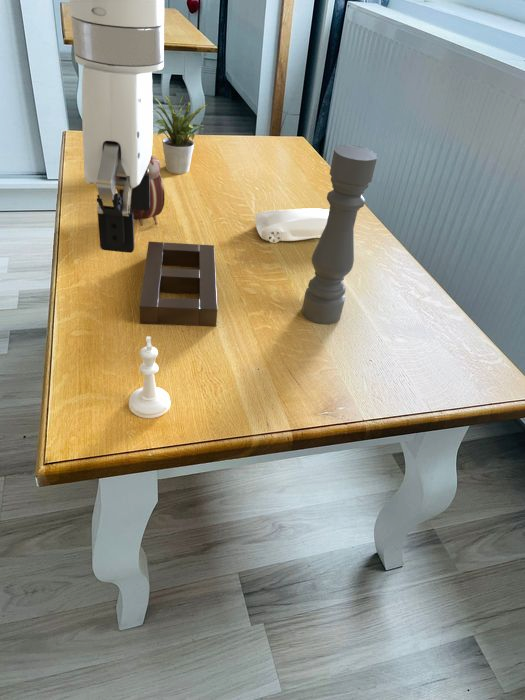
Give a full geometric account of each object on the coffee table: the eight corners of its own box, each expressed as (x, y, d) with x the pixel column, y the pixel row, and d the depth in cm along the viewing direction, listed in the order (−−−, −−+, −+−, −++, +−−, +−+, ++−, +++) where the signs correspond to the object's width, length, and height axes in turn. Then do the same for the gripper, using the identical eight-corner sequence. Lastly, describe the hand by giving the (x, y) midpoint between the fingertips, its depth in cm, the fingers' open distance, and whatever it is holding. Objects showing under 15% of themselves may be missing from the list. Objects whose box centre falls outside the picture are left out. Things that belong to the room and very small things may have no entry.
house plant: (128, 172, 122) (126, 93, 112) (156, 153, 133) (155, 80, 123) (188, 186, 120) (191, 106, 110) (211, 166, 131) (216, 92, 121)
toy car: (261, 243, 102) (263, 220, 100) (252, 224, 108) (255, 202, 106) (351, 243, 107) (356, 222, 104) (339, 225, 113) (343, 204, 110)
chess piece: (130, 420, 64) (127, 353, 58) (127, 392, 68) (123, 325, 61) (173, 415, 65) (174, 349, 59) (167, 388, 69) (168, 323, 63)
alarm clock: (166, 228, 103) (167, 147, 94) (143, 233, 100) (141, 150, 91) (136, 206, 109) (134, 127, 100) (114, 210, 106) (110, 130, 97)
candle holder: (301, 299, 89) (330, 142, 73) (339, 304, 89) (376, 147, 74) (302, 321, 84) (333, 157, 69) (342, 326, 84) (382, 163, 69)
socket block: (139, 323, 79) (139, 306, 77) (148, 257, 94) (148, 241, 92) (216, 326, 80) (217, 309, 79) (213, 260, 95) (214, 245, 94)
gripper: (98, 23, 54) (108, 191, 64) (43, 59, 40) (67, 265, 51) (175, 33, 54) (173, 198, 65) (147, 72, 41) (150, 273, 51)
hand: (127, 227), depth 58 cm, fingers open, 9 cm apart
